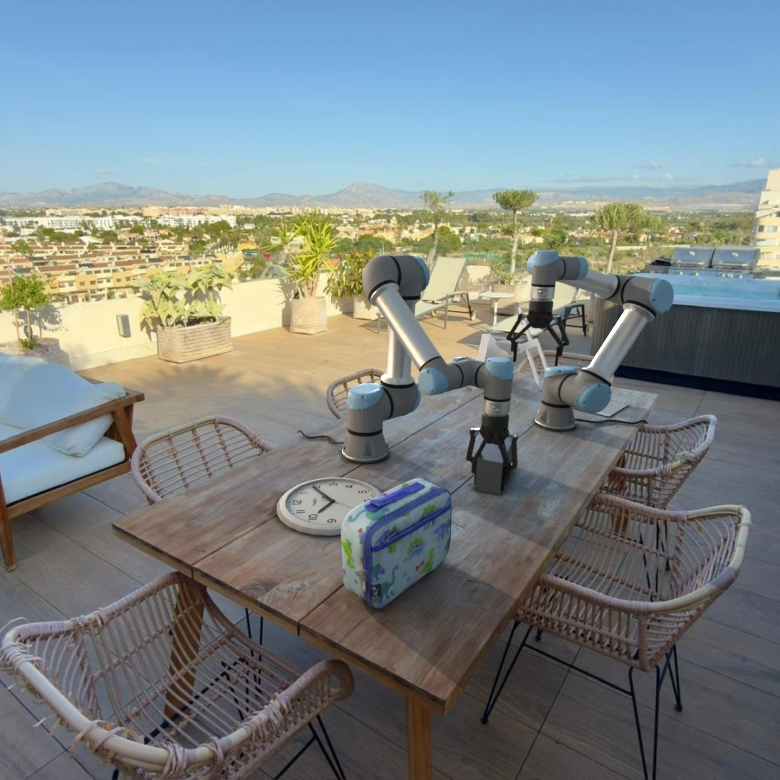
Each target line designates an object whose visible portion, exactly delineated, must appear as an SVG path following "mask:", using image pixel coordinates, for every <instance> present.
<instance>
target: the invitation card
mask: <svg viewBox="0 0 780 780" xmlns="http://www.w3.org/2000/svg"><path fill="white" fill-rule="evenodd" d="M628 406H629V404H627V403H623V402H618V401H614V400H610V402H609V404H608V405H607V406H606V407H605V408H604V409H603V410H602V411H600V412H597V413H595V414H596V415H600V416H604V417H608V418H609V417H611V416H613V415H614V414H616V413H617V412H619V411H621V410H623V409H624V408H626V407H628ZM575 410H578V409H577V408H575Z"/></svg>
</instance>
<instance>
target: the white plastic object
mask: <svg viewBox="0 0 780 780" xmlns="http://www.w3.org/2000/svg"><path fill="white" fill-rule="evenodd" d="M517 310H518V314H519V313H523V314H525V313H524V311H523V309H522V307H520V306H519V307H517ZM521 322H522V325H523V328H524V327H525V326H526V325H527V324H528V321H527V318H524V320H521ZM524 333H525V334H526V338H527V341H525V342H523V343H518V347H517V358H516V362H513V354H514V352H511V341H509V340H506V338H505V339H502V340H496V339H495V338H494V336H493V335H492V334H491V333H482V334H481V336H480V337H481V338H480V342H479V348H478V352H477V356H476V359H475V360H478V361H482V362H486V361H487V359H489V358H491V357H500V358H507V359H510V360H511V361H512V362H513V368H514V367H516V366H517V365H519V363H521V362H522V361H524V360H525V359H526V358H527V359H528V363H529V367H530V369H531V372H532V375H533V378H534V381H535V384H536V385H537V386H538V388H539V389H540V391H543V384H542V382H541V380H540V376H539V374H538V370H537V367H536V365H535V361H534V358H533V355H534V354H536V353H538V355H539V357H540V360H541V363H542V367H543V369H544V371H545V370H546V369H547V368H549V366H548V363H547V359H546V357H545V353H544V350H543V348H542V345H541V342H540V340H539V339H538V338H537V337H535V338H533V336H532V334H531V331H530V328H529V329H528V330H526V331H525V332H524ZM517 340H518V339H517ZM517 340H516V342H518V341H517Z"/></svg>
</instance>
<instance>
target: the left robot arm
mask: <svg viewBox="0 0 780 780" xmlns="http://www.w3.org/2000/svg"><path fill="white" fill-rule="evenodd" d="M430 279H431V273H430V269H429V266H428V264H427V263H426V262H425V259H423V258H422V257H421V256H419V255H416V254H406V253H405V254H391V255H390V254H389V255H387V254H384V255H383V254H381V255H377V256H374V257H373V258H372V259H370V260H369V261H368V262H367V263H366V264H365V266H364V269H363V271H362V275H361V284H362V290H363V292H364V294H365V296H366V299H367V300H368V301H369V303H370V305H371V306H373V307H376V308H377V309H378V310H379V312H380V314H381V315H382V317H383V319H384V320H385V321H386V323H387V334H386V335H387V336H386V350H385V351H386V353H385V371H384V373H383V374H382V375H381V376H380V380H379V381H380V382H379V383H380V384H379V383H376V382H368V383H366V382H363V383H360V384H357V385H354V386H353V387H351V388H350V389H349V390H348V392H347V399H346V411H347V412H346V413H347V419H346V420H347V422H346V424H347V432H346V436H345V439H344V441H334V440H333V437H331V436H329V435H323V434H322V435H312V436H311V435H307V434H305V433H304V431H303V430H302V429H299V430H297V431H296V433H301V435H302V436H303V437H304V438H305V439H320V438H327V439H329V440H330V442H331V444H333V445H342V448H341V455H342V457H343V458H344V459H345V460H346V461H349V462H352V463H355V464H373V463H377V462H378V463H379V462H381V461H383V460H385V459H386V458H387V457H388V455H389V444H388V442H387V441H386V439H385V436H384V432H383V431H384V428H383V427H384V426H383V425H384V422H386V421H389V420H392V419H395V418H399V417H405V416H407V415H409V414H411V413H414V411H416V410H417V409H418V407H419V406H420V403H421V396H422V395H421V393H422V394H424V395H427V396H437V395H443V394H445V393H447V392H451V391H455V390H460V389H463V388H466V387H473V388H474V387H475V388H478V389H482V390H483V397H482V398H483V399H482V411H483V412H482V413H481V421H480V427H477V428H476V427H474V426H472V427H471V428H470V430H469V436H470V438H469V442H468V447H467V452H466V456H465V460H466V461H467V462H470V463H471V470H470V472H471V474H474V477H473V486H475V481H476V468H477V458H478V456H480V454H481V452H482V451H483V449H484V447H485V445H486V443H487V444H494V445H498V447H499V449H500V452H501V455H502V459H503V460H504V465H505V466H504V469H503V474H502V485H501V492H502V491H503V492H504V490H505V488H506V482H507V481H509V480H510V478H511V471H512V470H517V468H518V464H519V463H518V462H519V460H518V459H519V458H518V440H519V434H518V433H511V432H510V430H509V424H510V423H509V421H510V415H509V414H510V412H511V404H512V403H511V402H512V389H513V382H514V381H513V380H514V367H513V362H512V361H511V360H510V359H507V358H500V357H491V358H489V359H487V361H486V362H482V361H478V360H476V359H474V358H472V357H468V356H456V357H454V359H452V360H451V362H449V363H447V362H446V360H445V359H444V358H443V356H442V355H441V354H440V352H439V351H438V349H437V348H436V346H435V344H434V343H433V341H432V340H431V338H430V337H429V336H428V334H427V332H426V331H425V330H424V328H423V327H422V325H421V324H420V322H419V320H418V319H417V317H416V316H415V315H416V305H417V304H418V303H419V302H420V301H421V297H422V292H423V291H425V290H426V289H427V287H429V284H430ZM412 363H413V364H414V366H415V367H416V369H417V371H418V372H419V373H418V376H417V383H418V384H417V383H416V378H414V376H413V375H412V373H411V372H412ZM479 434H480V436H481V437H482V441H481V443H480V445H479V447H478V448H477V450H476V453H475V455H474V456H473V453H474V447H475V445H476V441H477V437H478V435H479ZM507 437H509V439H510V442H512V443H511V453H512V463H511V462H510V459H509V456H508V453H507V450H506V446H505V442H504V440H505V439H506V438H507Z"/></svg>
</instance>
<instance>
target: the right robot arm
mask: <svg viewBox="0 0 780 780" xmlns="http://www.w3.org/2000/svg"><path fill="white" fill-rule="evenodd" d="M559 254H560V253H559V251H558V250H551V249H549V250H547V249H545V250H543V249H539V250H536V251H535V252H534V253H533V254H532V255H531V256H530V257H529V258H528V259H527V262H526V270H527V273H528V274H529V275H531V282H530V283H531V284H530V291H529V298H530V300H529V302H528V312H527V314H526V313H524V312H523V313H524V314H523V313H519V312H518V314H517V319H516V321H515V323H514V324H513V326H512V328H511V329H510V331H509V332H508V334H507V336H506V337H505V339H506V340H509V341H511V352H514V354H513V362H516V358H517V347H518V344H519V341H517V342H516V340H518V339H519V338H521V336H522V335H524V334H525V333H526V332H525V331H526V330H528V329H529V330H530V328H532V329H540V330H544V329H546V330H547V331H548V333H549V334H550V336H552V338H553V339H554V340H555V342H556V344H557V346H556V350H555V358H554V359H555V360H554V366H550V367H549V366H548V368H547V369H546V370H545V369H544V375H543V381H542V390H541V391H542V392H541V402H540V405H539V407H538V409H537V410H536V413H535V416H534V424H535V425H536V426H537V427H539V428H542V429H544V430H549V431H556V432H567V431H572V430H574V429H575V428H576V422H582V423H588V424H596V425H597V424H605V423H619V424H625V425H638V424H642V423H644V424H645V425H649V422H648V421H647V420H646V419H640V420H637V421H626V420H621V419H602V420H589V419H585V418H584V419H582V418H577V417H576V416H575V413H574V409H576V408H577V409H576V410H578V411H579V412H583V413H587V414H591V415H593V414H596V413H597V412H600V411H602V410H603V409H604V408H605V407H606V406H607V405H608V404H609V402H610V401H612V400H611V399H612V388H611V387H612V385H613V383H612V380H611V379H612V378H613V376H614V374H615V373H616V371H617V370H618V368H619V366H620V365H621V363H622V362H623V360H624V359H625V357H626V355H627V353H628V352H629V351H630V350H631V348H632V346H633V345H634V343H635V341H636V340H637V338H638V337H639V335H640V333H641V332H642V330H643V329H644V327H645V326H646V325H647V323H650V322H653V321H654V320H655V319H656V317H657V316H658V314H659V315H661V314H665V313H667V312H668V311H669V310H671V308H672V306H673V302H674V298H675V294H674V293H675V290H674V287H673V285H672V283H671V282H670V281H668V280H667V279H662V278H659V277H648V276H647V277H646V276H638V275H625V274H624V275H622V274H615V273H613V272H607V273H603V272H601V271H597V270H594V269H591V268H589V267H590V266H589V262H588V260H587V259H586V258H585V257H584V256H578V255H575V256H566V255H559ZM557 282H558V283H560V284H564V285H567V286H571V287H574V288H576V289H581V290H583V291H587V292H590V293H592V294H595V295H597V296H598V297H599V298H600V299H603V300H606V301H608V302H611V303H614V304H615V305H618V306H621V307H622V309H623V313H622V314H621V316H620V317H619V319H618V320H617V322H616V323H615V325H614V326H613V328H612V329H611V330H610V332H609V334H608V336H607V337H606V339H605V340H604V341H603V343H602V345H601V346H600V348H599V350H598V351H597V353H596V354H595V356H594V358H593V359H592V360H591V362H590V364H589V365H588V366H586V367H583V368H581V370H580V371H579V372H578V369H577V368H576V367H574V366H566V365H565V366H564V365H562V366H561V365H559V357H562V356H563V353H564V347H568V346H569V345H570V343H571V341H570V339H569V337H568V334H567V331H566V329H565V326H564V323H563V316H562V315H554V316H553V311H554V301H553V300H554V299H555V293H556V283H557ZM524 318H525V319H526V321H527V325H526V326H525V327H524V326H523V328H522V329H521V330H520V331H519V332H518V333H517V334H516V335H515V336H514V337H513V335H514V333H515V332H516V330H517V329H518V327H519V326H520V324H521V322H522V320H524ZM553 321H554V322H555V323H556V324H557V328H558V330H559V332H560V335H561V337H562V339H563V340H562V339H561V337H560V336H559V335H558V333H557V331H556V330H555V329H554V327H553V326H552V325H551V323H552V322H553ZM558 365H559V366H558ZM575 417H576V418H575Z"/></svg>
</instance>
